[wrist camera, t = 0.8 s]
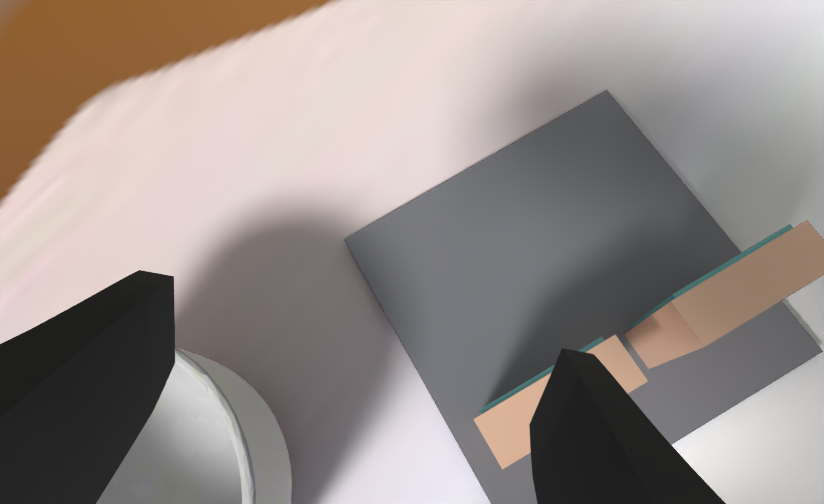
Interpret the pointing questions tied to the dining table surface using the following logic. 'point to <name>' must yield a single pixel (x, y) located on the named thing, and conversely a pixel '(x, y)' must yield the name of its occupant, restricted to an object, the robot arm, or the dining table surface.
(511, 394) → the tile
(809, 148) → the dining table surface
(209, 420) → the teacup
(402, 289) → the mat
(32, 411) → the robot arm
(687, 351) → the tile
